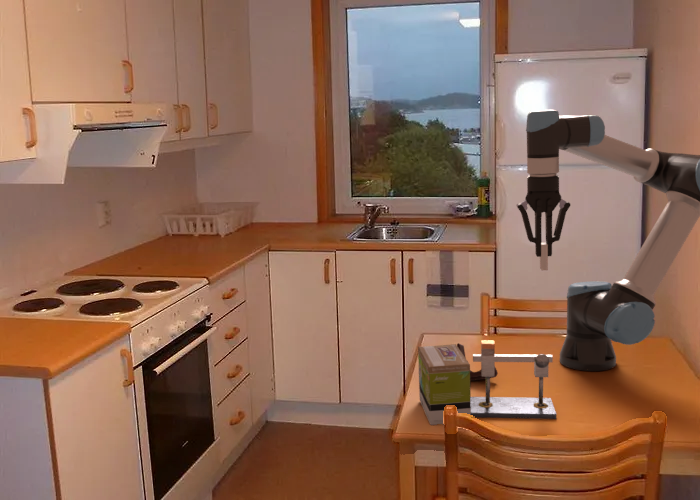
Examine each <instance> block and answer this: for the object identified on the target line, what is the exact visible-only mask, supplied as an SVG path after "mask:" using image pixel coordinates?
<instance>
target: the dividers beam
mask: <svg viewBox="0 0 700 500" xmlns="http://www.w3.org/2000/svg"><path fill="white" fill-rule="evenodd" d="M553 359H554V358H553V354H544V353H539V354H507V353H506V354H504V353H503V354H499V353H497V354H496V353H495V363H533V367H534V368H533V369H534V370H533V372H534V373H533V375H534V377H535V378H538V398H539V404H543V398H544V378H549V364H550V363H553V362H554V361H553ZM472 361H473V363H481V362H482V354H481V353H479V354H477V353H473V354H472Z"/></svg>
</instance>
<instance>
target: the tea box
mask: <svg viewBox="0 0 700 500" xmlns="http://www.w3.org/2000/svg"><path fill="white" fill-rule="evenodd" d="M417 350H418V351H417V360H418V361H417V362H418V384H419V385H418V386H419V387H418V389H419V391H418V392H419V393H418V394H419V401H420V404H421V406H422V409H423V411H424V414H425V415H426V418H427V420H428V423H429V425H430V426H438V425H437V424H442V425H444V424H443V411H444V407H445V406H446V405H455V406H456V407H457V411H458V413H467V414H470V415H471V397H472V396H471V380H470V370H471V364H470V362H469V361H468V360H467V357H466V356H465V357H466V358H465V357H464V355H463V354H462V352H461V351H460V350H459V348H458V347H457V344H456V343H455V344H454V343H453V344H452V343H451V344H442V345H425V346H417Z"/></svg>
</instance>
